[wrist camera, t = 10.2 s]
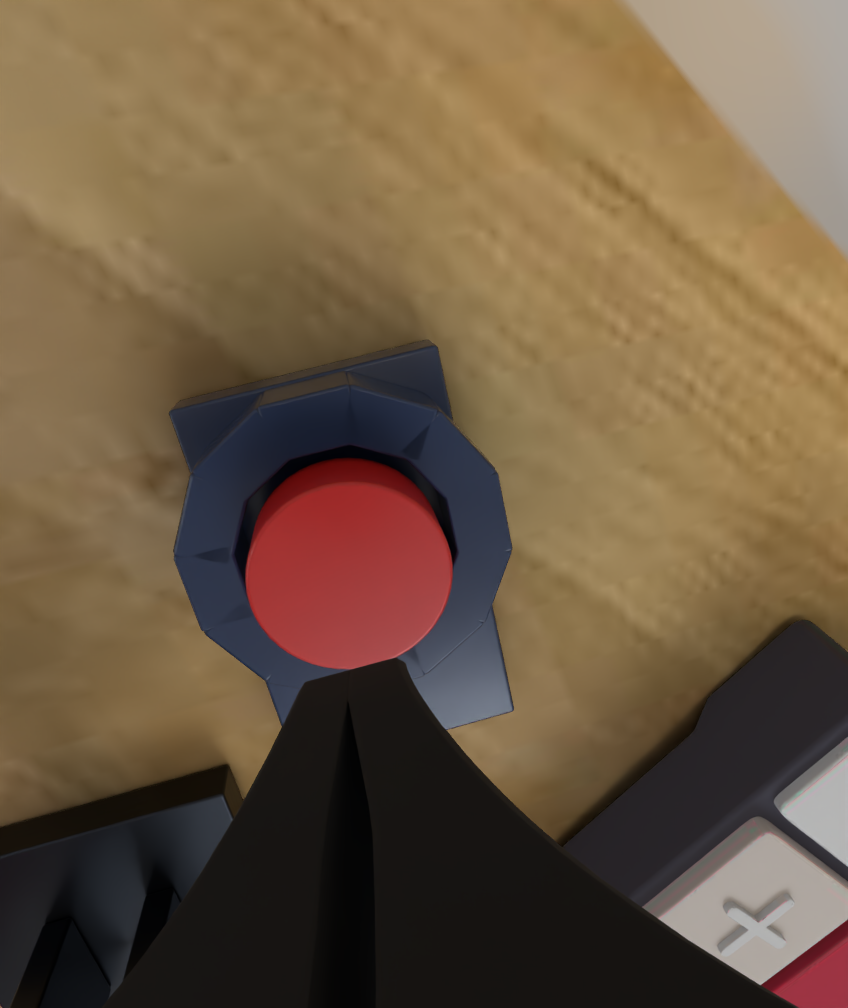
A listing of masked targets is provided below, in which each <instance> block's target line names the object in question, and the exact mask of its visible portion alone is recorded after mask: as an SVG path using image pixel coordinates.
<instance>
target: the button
mask: <svg viewBox="0 0 848 1008" xmlns="http://www.w3.org/2000/svg"><path fill="white" fill-rule="evenodd" d="M452 578H453V564H452V558H451V552H450V549H449V545H448V542H447V539H446V537H445V535H444V533H443V531H442V528H441V526H440V524H439V522H438V520H437V518H436V515H435V513H434V511H433V509H432V507H431V505H430V503H429V501H428V500H427V498H426V497H425V495H424V494H423V492H422V491H421V490H420V489H419V488H418V487H417V485H416V484H414V483H413V482H412V481H411V480H410V479H409V478H408V477H406V476H405V475H403V474H402V473H400V472H399V471H397V470H395V469H393V468H391V467H389V466H387V465H385V464H382V463H379V462H376V461H372V460H367V459H362V458H335V459H330V460H324V461H321V462H318V463H315V464H311V465H309V466H307V467H305V468H303V469H301V470H299V471H297V472H296V473H294V474H292V475H291V476H289V477H288V478H287V479H286V480H284V481H283V482H282V483H281V484H280V485H279V486H278V487H277V488H276V489H275V490H274V491H273V492H272V493H271V494H270V496H269V497H268V499H267V500H266V502H265V503H264V505H263V507H262V509H261V511H260V513H259V515H258V518H257V521H256V524H255V527H254V531H253V536H252V540H251V544H250V549H249V553H248V558H247V563H246V570H245V584H246V593H247V597H248V601H249V604H250V607H251V609H252V612H253V614H254V616H255V618H256V620H257V621H258V623H259V625H260V626H261V628H262V629H263V630H264V631H265V633H266V634H267V635H268V636H269V637H270V638H271V639H272V640H273V641H274V642H275V643H276V644H277V645H278V646H279V647H281V648H282V649H283V650H285V651H286V652H288V653H289V654H291V655H293V656H295V657H297V658H298V659H300V660H303V661H305V662H308V663H311V664H314V665H318V666H322V667H326V668H334V669H355V668H358V667H362V666H366V665H369V664H373V663H377V662H380V661H384V660H388V659H391V658H395V657H398V656H400V655H402V654H403V653H405V652H407V651H408V650H410V649H411V648H412V647H414V646H415V645H416V644H418V643H419V642H420V641H421V640H422V639H423V638H424V637H425V636H426V635H427V634H428V633H429V632H430V631H431V629H432V628H433V627H434V625H435V624H436V623H437V621H438V619H439V618H440V616H441V614H442V613H443V611H444V608H445V606H446V604H447V601H448V598H449V595H450V591H451V586H452Z"/></svg>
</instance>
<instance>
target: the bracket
mask: <svg viewBox="0 0 848 1008" xmlns="http://www.w3.org/2000/svg"><path fill="white" fill-rule="evenodd" d="M242 803H243V800H242V797H241V795H240V792H239V790H238V787H237V785H236V782H235V780H234V777H233V775H232V773H231V770H230V768H229V766H228V765H225V766H222V767H218V768H214V769H211V770H207V771H204V772H200V773H196V774H193V775H189V776H186V777H182V778H178V779H175V780H171V781H168V782H164V783H160V784H157V785H153V786H150V787H146V788H143V789H139V790H135V791H132V792H128V793H125V794H121V795H117V796H114V797H110V798H107V799H103V800H99V801H96V802H92V803H89V804H85V805H82V806H78V807H74V808H71V809H67V810H64V811H60V812H56V813H53V814H49V815H46V816H42V817H38V818H35V819H31V820H28V821H24V822H21V823H17V824H13V825H10V826H6V827H3V828H0V1005H1V1007H2V1008H101V1007H102V1006H103V1005H104V1004H105V1003H106V1001H107V1000H108V999H109V998H110V997H111V995H112V994H113V993H114V992H115V990H116V989H117V988H118V987H119V986H120V984H121V983H122V982H123V981H124V979H125V978H126V977H127V976H128V975H129V973H130V972H131V971H132V969H133V968H134V967H135V965H136V964H137V963H138V961H139V960H140V959H141V958H142V956H143V955H144V954H145V952H146V951H147V949H148V948H149V947H150V945H151V944H152V943H153V941H154V940H155V938H156V937H157V936H158V934H159V933H160V932H161V930H162V929H163V927H164V926H165V925H166V923H167V922H168V921H169V919H170V918H171V916H172V915H173V913H174V912H175V910H176V909H177V907H178V906H179V905H180V903H181V902H182V900H183V899H184V897H185V896H186V894H187V893H188V891H189V890H190V888H191V887H192V885H193V884H194V882H195V881H196V879H197V877H198V876H199V874H200V873H201V871H202V870H203V868H204V866H205V865H206V863H207V861H208V860H209V858H210V857H211V855H212V853H213V852H214V850H215V848H216V847H217V845H218V843H219V842H220V840H221V838H222V837H223V835H224V833H225V832H226V830H227V828H228V827H229V825H230V824H231V822H232V820H233V819H234V817H235V815H236V814H237V812H238V810H239V808H240V807H241V805H242Z"/></svg>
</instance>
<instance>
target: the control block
mask: <svg viewBox="0 0 848 1008" xmlns="http://www.w3.org/2000/svg"><path fill="white" fill-rule="evenodd" d="M169 415H170V418H171V421H172V424H173V427H174V429H175V432H176V435H177V438H178V440H179V443H180V446H181V449H182V451H183V454H184V457H185V460H186V463H187V465H188V468H189V471H190V477H189V481H188V486H187V490H186V495H185V499H184V504H183V509H182V513H181V518H180V522H179V527H178V531H177V536H176V540H175V545H174V550H173V552H174V561H175V564H176V566H177V569H178V572H179V574H180V577H181V579H182V582H183V584H184V587H185V590H186V592H187V595H188V597H189V600H190V602H191V605H192V608H193V610H194V613H195V615H196V618H197V620H198V623H199V626H200V628H201V630H202V631H204V633H205V634H206V635H207V636H208V637H209V638H210V639H212V640H213V641H214V642H216V643H217V644H218V645H220V646H221V647H222V648H223V649H225V650H226V651H227V652H229V653H230V654H231V655H232V656H234V657H235V658H236V659H238V660H239V661H240V662H241V663H243V664H244V665H245V666H247V667H248V668H249V669H251V670H252V671H253V672H254V673H256V674H257V675H258V676H260V677H261V678H262V679H263V680H265V681H266V684H267V687H268V690H269V692H270V695H271V698H272V701H273V703H274V706H275V709H276V712H277V714H278V717H279V720H280V723H281V726H283V724H284V722H285V720H286V718H287V716H288V714H289V711H290V709H291V707H292V705H293V703H294V701H295V699H296V697H297V694H298V692H299V691H300V689H301V687H302V686H303V684H304V683H305V682H307V681H310V680H314V679H318V678H321V677H325V676H329V675H332V674H336V673H340V672H344V671H347V670H351V669H334V668H326V667H322V666H318V665H314V664H311V663H308V662H305V661H303V660H300V659H298V658H297V657H295V656H293V655H291V654H289V653H288V652H286V651H285V650H283V649H282V648H281V647H279V646H278V645H277V644H276V643H275V642H274V641H273V640H272V639H271V638H270V637H269V636H268V635H267V634H266V633H265V631H264V630H263V629H262V628H261V626H260V625H259V623H258V621H257V620H256V618H255V616H254V614H253V612H252V609H251V607H250V604H249V601H248V597H247V593H246V584H245V570H246V563H247V558H248V553H249V549H250V544H251V540H252V536H253V531H254V527H255V524H256V521H257V518H258V515H259V513H260V511H261V509H262V507H263V505H264V503H265V502H266V500H267V499H268V497H269V496H270V494H271V493H272V492H273V491H274V490H275V489H276V488H277V487H278V486H279V485H280V484H281V483H282V482H283V481H284V480H286V479H287V478H288V477H289V476H291V475H292V474H294V473H296V472H297V471H299V470H301V469H303V468H305V467H307V466H309V465H311V464H315V463H318V462H321V461H324V460H330V459H335V458H362V459H367V460H372V461H376V462H379V463H382V464H385V465H387V466H389V467H391V468H393V469H395V470H397V471H399V472H400V473H402V474H403V475H405V476H406V477H408V478H409V479H410V480H411V481H412V482H413V483H414V484H416V485H417V487H418V488H419V489H420V490H421V491H422V492H423V494H424V495H425V497H426V498H427V500H428V501H429V503H430V505H431V507H432V509H433V511H434V513H435V515H436V518H437V520H438V522H439V524H440V526H441V528H442V531H443V533H444V535H445V537H446V539H447V542H448V545H449V549H450V552H451V558H452V564H453V578H452V586H451V591H450V595H449V598H448V601H447V604H446V606H445V608H444V611H443V613H442V614H441V616H440V618H439V619H438V621H437V623H436V624H435V625H434V627H433V628H432V629H431V631H430V632H429V633H428V634H427V635H426V636H425V637H424V638H423V639H422V640H421V641H420V642H419V643H418V644H416V645H415V646H414V647H412V648H411V649H410V650H408V651H407V652H405V653H403V654H402V655H400V656H398V657H396V658H398V659H400V660H402V661H403V662H405V663H406V665H407V669H408V672H409V674H410V676H411V679H412V681H413V682H414V684H415V686H416V688H417V690H418V691H419V693H420V695H421V696H422V698H423V699H424V701H425V702H426V704H427V705H428V707H429V708H430V710H431V711H432V712H433V714H434V715H435V716H436V718H437V719H438V721H439V722H440V723H441V724H442V726H443V727H444V728H445V729H446V730H448V729H452V728H455V727H459V726H462V725H466V724H469V723H473V722H477V721H480V720H484V719H487V718H491V717H494V716H498V715H502V714H505V713H509V712H512V711H513V710H514V706H513V701H512V696H511V691H510V687H509V682H508V677H507V672H506V668H505V663H504V658H503V654H502V649H501V644H500V639H499V635H498V630H497V625H496V620H495V616H494V611H493V606H492V604H493V601H494V598H495V596H496V593H497V590H498V587H499V585H500V582H501V579H502V577H503V574H504V571H505V569H506V566H507V563H508V560H509V558H510V555H511V552H512V551H511V550H512V543H511V538H510V533H509V528H508V522H507V517H506V512H505V507H504V502H503V497H502V491H501V486H500V481H499V476H498V473H497V471H496V470H495V468H494V467H493V465H492V464H491V463H490V462H489V461H488V459H487V458H486V457H485V456H484V455H483V453H482V452H481V451H480V450H479V449H478V448H477V446H476V445H475V444H474V443H473V442H472V441H471V440H470V439H469V438H468V437H467V436H466V435H465V434H464V433H463V432H462V430H461V429H460V428H459V427H458V426H457V425H456V424H455V423H454V422H453V417H452V412H451V408H450V403H449V398H448V393H447V389H446V384H445V379H444V374H443V370H442V365H441V360H440V356H439V351H438V347H437V346H436V345H435V344H434V343H432V342H431V341H430V340H423V341H419V342H415V343H411V344H407V345H403V346H399V347H395V348H391V349H387V350H383V351H379V352H374V353H370V354H366V355H362V356H358V357H354V358H350V359H346V360H342V361H338V362H334V363H330V364H326V365H322V366H318V367H314V368H310V369H306V370H302V371H298V372H294V373H289V374H285V375H281V376H277V377H273V378H269V379H265V380H261V381H257V382H253V383H249V384H245V385H241V386H237V387H233V388H229V389H225V390H221V391H217V392H213V393H208V394H204V395H200V396H196V397H192V398H188V399H184V400H180V401H179V402H178V403H177V404H176V405H175V406H174V407H173V408H172V409H171V410H170V411H169Z"/></svg>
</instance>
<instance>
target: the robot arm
mask: <svg viewBox="0 0 848 1008" xmlns="http://www.w3.org/2000/svg"><path fill="white" fill-rule="evenodd" d="M101 1008H799V1007H797V1006H795V1005H794V1004H792V1003H790V1002H789V1001H787V1000H785V999H783V998H782V997H780V996H778V995H776V994H775V993H773V992H771V991H770V990H768V989H766V988H764V987H763V986H761V985H759V984H758V983H756V982H755V981H753V980H751V979H750V978H748V977H747V976H745V975H743V974H742V973H740V972H739V971H737V970H735V969H734V968H732V967H731V966H729V965H727V964H726V963H724V962H723V961H721V960H719V959H718V958H716V957H715V956H713V955H712V954H710V953H708V952H707V951H705V950H704V949H702V948H700V947H699V946H697V945H696V944H694V943H692V942H691V941H689V940H688V939H686V938H685V937H683V936H682V935H681V934H679V933H678V932H676V931H675V930H674V929H672V928H671V927H669V926H668V925H666V924H665V923H664V922H662V921H661V920H659V919H658V918H657V917H655V916H654V915H652V914H651V913H649V912H648V911H647V910H645V909H644V908H642V907H641V906H639V905H638V904H637V903H635V902H634V901H632V900H631V899H630V898H628V897H627V896H625V895H624V894H622V893H621V892H620V891H618V890H617V889H615V888H614V887H613V886H611V885H610V884H608V883H607V882H605V881H604V880H603V879H601V878H600V877H599V876H597V875H596V874H595V873H594V872H592V871H591V870H590V869H589V868H587V867H586V866H585V865H584V864H583V863H581V862H580V861H579V860H578V859H576V858H575V857H574V856H573V855H571V854H570V853H569V852H568V851H566V850H565V849H564V848H563V847H561V846H560V845H559V844H558V843H557V842H555V841H554V840H553V839H552V838H551V837H550V836H549V835H547V834H546V833H545V832H544V831H543V830H542V829H541V828H539V827H538V826H537V825H536V824H535V823H534V822H533V821H531V820H530V819H529V818H528V817H527V816H526V815H525V814H524V813H523V812H522V811H521V810H520V809H518V808H517V807H516V806H515V805H514V804H513V803H512V802H511V801H510V800H509V799H508V798H507V797H506V796H505V795H504V794H503V793H502V792H501V791H500V790H499V789H498V788H497V787H496V786H495V785H494V784H493V783H492V782H491V781H490V780H489V779H488V778H487V777H486V775H485V774H484V773H483V772H482V771H481V770H480V769H479V768H478V767H477V766H476V765H475V764H474V763H473V761H472V760H471V759H470V758H469V757H468V756H467V755H466V754H465V753H464V751H463V750H462V749H461V748H460V746H459V745H458V744H457V743H456V742H455V740H454V739H453V738H452V737H451V735H450V734H449V733H448V732H447V731H446V729H445V728H444V727H443V726H442V724H441V723H440V722H439V721H438V719H437V718H436V716H435V715H434V714H433V712H432V711H431V710H430V708H429V707H428V705H427V704H426V702H425V701H424V699H423V698H422V696H421V695H420V693H419V691H418V690H417V688H416V686H415V684H414V682H413V681H412V679H411V676H410V674H409V672H408V669H407V665H406V663H405V662H403V661H402V660H400V659H398V658H396V657H395V658H391V659H388V660H384V661H380V662H377V663H373V664H369V665H366V666H362V667H358V668H355V669H351V670H347V671H344V672H340V673H336V674H332V675H329V676H325V677H321V678H318V679H314V680H310V681H307V682H305V683H304V684H303V686H302V687H301V689H300V691H299V692H298V694H297V697H296V699H295V701H294V703H293V705H292V707H291V709H290V711H289V714H288V716H287V718H286V720H285V722H284V724H283V726H282V728H281V730H280V732H279V734H278V736H277V738H276V740H275V742H274V744H273V746H272V748H271V750H270V752H269V754H268V756H267V758H266V760H265V762H264V764H263V766H262V768H261V770H260V771H259V773H258V775H257V777H256V779H255V781H254V783H253V784H252V786H251V788H250V790H249V792H248V794H247V796H246V798H245V799H244V801H243V803H242V805H241V807H240V808H239V810H238V812H237V814H236V815H235V817H234V819H233V820H232V822H231V824H230V825H229V827H228V828H227V830H226V832H225V833H224V835H223V837H222V838H221V840H220V842H219V843H218V845H217V847H216V848H215V850H214V852H213V853H212V855H211V857H210V858H209V860H208V861H207V863H206V865H205V866H204V868H203V870H202V871H201V873H200V874H199V876H198V877H197V879H196V881H195V882H194V884H193V885H192V887H191V888H190V890H189V891H188V893H187V894H186V896H185V897H184V899H183V900H182V902H181V903H180V905H179V906H178V907H177V909H176V910H175V912H174V913H173V915H172V916H171V918H170V919H169V921H168V922H167V923H166V925H165V926H164V927H163V929H162V930H161V932H160V933H159V934H158V936H157V937H156V938H155V940H154V941H153V943H152V944H151V945H150V947H149V948H148V949H147V951H146V952H145V954H144V955H143V956H142V958H141V959H140V960H139V961H138V963H137V964H136V965H135V967H134V968H133V969H132V971H131V972H130V973H129V975H128V976H127V977H126V978H125V979H124V981H123V982H122V983H121V984H120V986H119V987H118V988H117V989H116V990H115V992H114V993H113V994H112V995H111V997H110V998H109V999H108V1000H107V1001H106V1003H105V1004H104V1005H103V1006H102V1007H101Z"/></svg>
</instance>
